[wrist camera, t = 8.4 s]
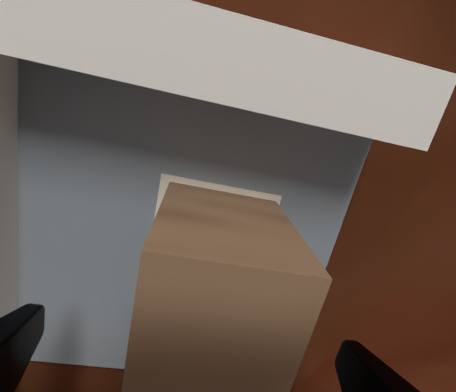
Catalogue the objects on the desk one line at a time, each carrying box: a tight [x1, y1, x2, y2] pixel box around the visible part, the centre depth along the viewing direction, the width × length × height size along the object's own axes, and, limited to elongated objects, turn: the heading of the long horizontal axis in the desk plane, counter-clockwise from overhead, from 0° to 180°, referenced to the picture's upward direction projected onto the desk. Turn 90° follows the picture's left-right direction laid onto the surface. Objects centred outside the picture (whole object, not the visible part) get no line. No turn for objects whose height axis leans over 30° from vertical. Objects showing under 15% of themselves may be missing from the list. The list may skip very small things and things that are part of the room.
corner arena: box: [0, 0, 456, 369], centre depth 10 cm, size 14×14×3 cm
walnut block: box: [121, 182, 332, 392], centre depth 9 cm, size 7×4×5 cm, turn 168°
